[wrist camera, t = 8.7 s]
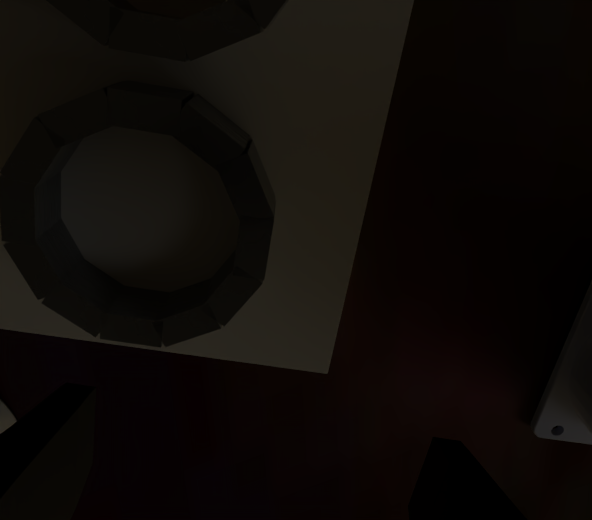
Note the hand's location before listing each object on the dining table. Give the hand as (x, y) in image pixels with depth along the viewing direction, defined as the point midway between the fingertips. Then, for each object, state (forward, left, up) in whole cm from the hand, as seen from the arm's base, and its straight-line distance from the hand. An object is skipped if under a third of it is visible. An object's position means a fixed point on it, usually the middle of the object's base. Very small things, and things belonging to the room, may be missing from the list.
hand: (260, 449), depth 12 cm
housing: (+4, -6, -9) cm, 12 cm away
